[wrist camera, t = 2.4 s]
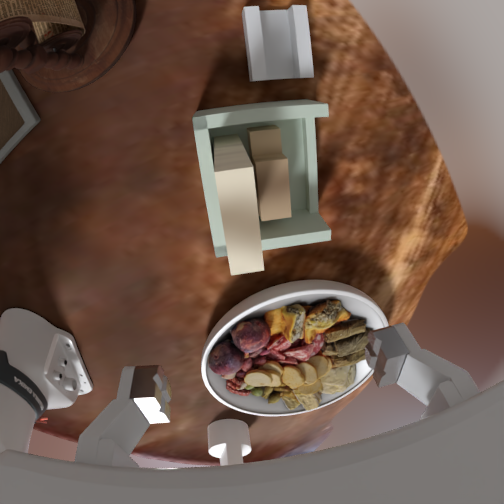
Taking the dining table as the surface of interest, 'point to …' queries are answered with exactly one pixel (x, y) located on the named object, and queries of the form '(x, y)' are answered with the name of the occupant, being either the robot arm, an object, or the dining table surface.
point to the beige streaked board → (238, 204)
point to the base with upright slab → (229, 441)
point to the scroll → (64, 39)
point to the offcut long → (264, 141)
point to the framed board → (14, 113)
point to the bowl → (291, 348)
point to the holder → (277, 43)
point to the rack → (299, 165)
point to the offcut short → (272, 186)
